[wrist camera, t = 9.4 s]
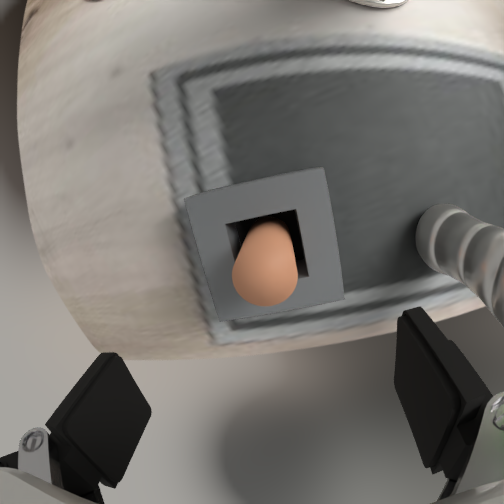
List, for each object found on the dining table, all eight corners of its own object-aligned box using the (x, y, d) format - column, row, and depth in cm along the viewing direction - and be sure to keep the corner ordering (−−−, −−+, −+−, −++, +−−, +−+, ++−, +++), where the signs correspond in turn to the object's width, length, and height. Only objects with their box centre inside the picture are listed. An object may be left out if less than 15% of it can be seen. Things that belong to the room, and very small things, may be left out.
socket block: (198, 193, 26) (184, 198, 22) (315, 167, 25) (323, 167, 20) (227, 299, 29) (219, 321, 25) (335, 279, 28) (344, 299, 23)
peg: (243, 221, 27) (224, 252, 17) (285, 212, 26) (291, 239, 17) (253, 261, 28) (240, 311, 18) (294, 253, 27) (302, 300, 18)
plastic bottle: (411, 269, 27) (531, 395, 8) (404, 206, 25) (566, 284, 6) (458, 254, 26) (584, 348, 7) (453, 194, 24) (609, 249, 5)
